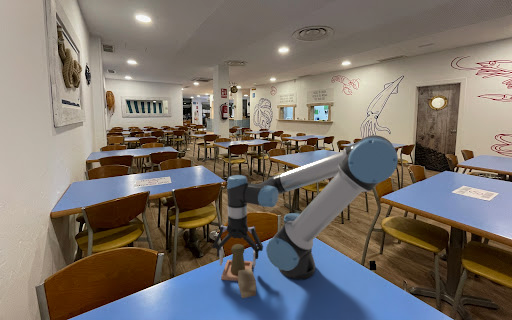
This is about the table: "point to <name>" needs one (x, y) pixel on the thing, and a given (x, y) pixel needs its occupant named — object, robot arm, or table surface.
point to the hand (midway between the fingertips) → (237, 264)
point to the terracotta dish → (227, 270)
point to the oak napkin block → (246, 283)
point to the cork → (237, 259)
